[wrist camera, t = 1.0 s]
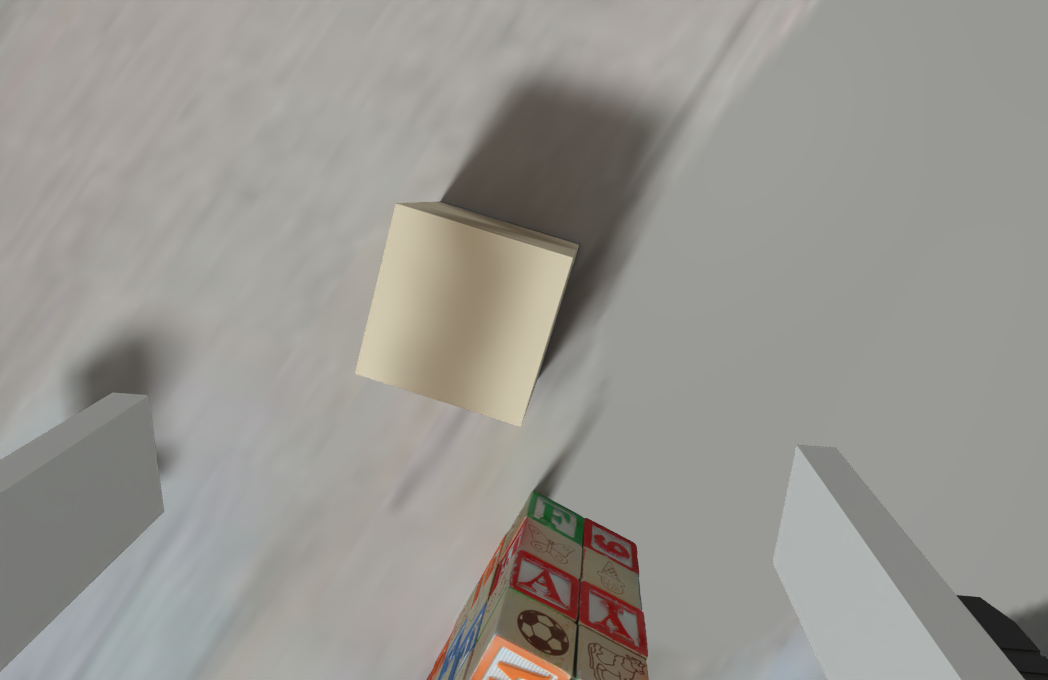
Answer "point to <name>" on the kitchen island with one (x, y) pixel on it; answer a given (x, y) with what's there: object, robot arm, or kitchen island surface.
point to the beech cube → (464, 308)
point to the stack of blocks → (552, 605)
